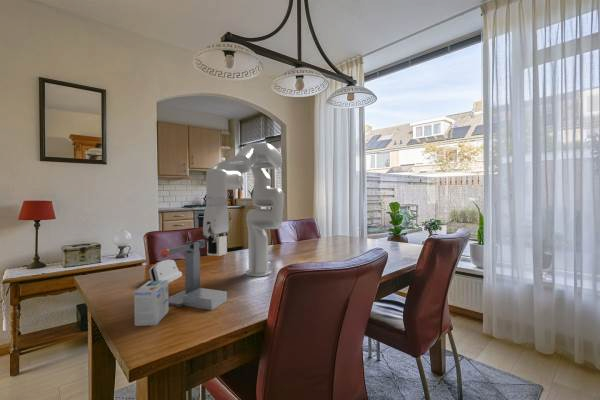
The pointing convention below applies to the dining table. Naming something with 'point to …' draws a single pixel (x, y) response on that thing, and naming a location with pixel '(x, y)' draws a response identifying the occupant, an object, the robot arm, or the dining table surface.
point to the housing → (220, 245)
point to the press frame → (196, 286)
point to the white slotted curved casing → (165, 271)
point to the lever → (180, 248)
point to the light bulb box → (151, 303)
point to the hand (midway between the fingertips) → (216, 251)
